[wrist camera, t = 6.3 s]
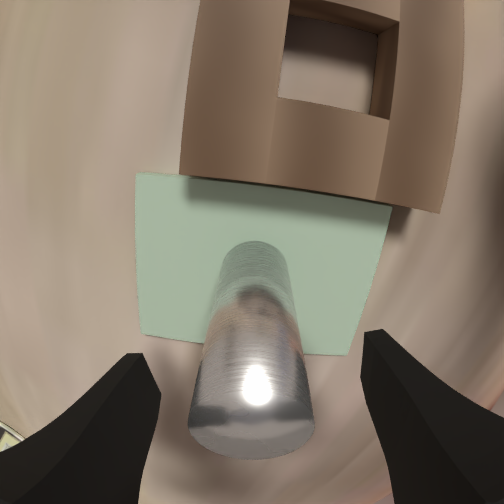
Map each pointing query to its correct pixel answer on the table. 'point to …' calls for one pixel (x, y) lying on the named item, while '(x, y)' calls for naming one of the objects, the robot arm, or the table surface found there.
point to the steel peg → (252, 362)
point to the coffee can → (8, 437)
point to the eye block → (322, 116)
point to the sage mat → (253, 229)
